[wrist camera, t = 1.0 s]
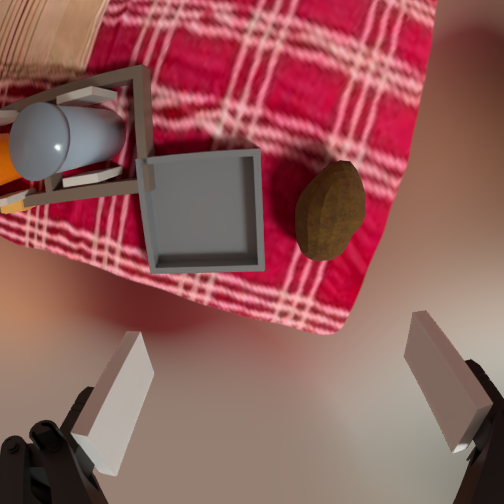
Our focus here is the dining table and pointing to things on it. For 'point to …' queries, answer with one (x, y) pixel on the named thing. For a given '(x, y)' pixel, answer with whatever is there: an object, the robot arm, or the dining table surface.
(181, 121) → the dining table surface
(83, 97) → the rack
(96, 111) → the canister
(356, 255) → the dining table surface
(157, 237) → the tray
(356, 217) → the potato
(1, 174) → the shaker bottle
